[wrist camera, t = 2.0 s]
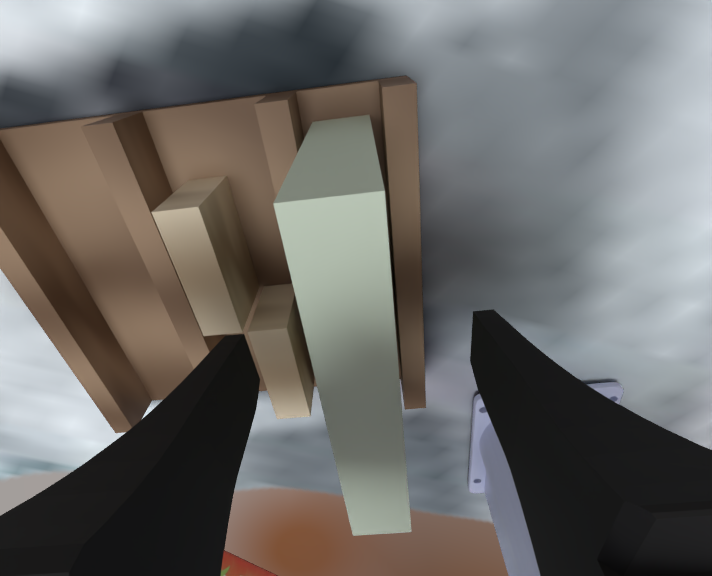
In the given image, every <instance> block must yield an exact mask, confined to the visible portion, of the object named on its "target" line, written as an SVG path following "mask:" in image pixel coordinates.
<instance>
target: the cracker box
mask: <svg viewBox="0 0 712 576" xmlns="http://www.w3.org/2000/svg"><path fill="white" fill-rule="evenodd" d="M221 576H277V575H275V574H273V573H271V572H269V571H267V570H265V569H263V568H260V567H258V566H256V565H254V564H252V563H250V562H248V561H246V560H243V559H241V558H239V557H237V556H235V555H233V554H231V553H229V552H226V551H225V550H224V554H223V560H222V568H221Z"/></svg>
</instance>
